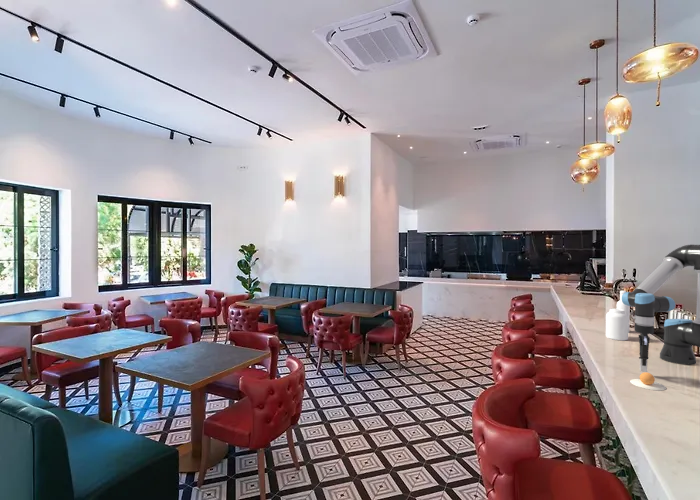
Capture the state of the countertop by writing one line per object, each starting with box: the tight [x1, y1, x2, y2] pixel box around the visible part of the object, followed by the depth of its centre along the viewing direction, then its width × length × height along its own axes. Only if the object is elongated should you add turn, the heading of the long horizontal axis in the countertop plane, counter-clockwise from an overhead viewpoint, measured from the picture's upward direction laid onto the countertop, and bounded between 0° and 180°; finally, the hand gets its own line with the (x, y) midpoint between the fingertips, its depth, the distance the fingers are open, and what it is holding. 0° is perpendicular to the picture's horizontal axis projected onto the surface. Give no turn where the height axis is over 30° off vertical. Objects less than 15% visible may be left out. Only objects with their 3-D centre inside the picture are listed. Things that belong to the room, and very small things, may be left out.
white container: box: [605, 308, 629, 341], centre depth 248 cm, size 12×12×20 cm
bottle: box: [615, 290, 631, 334], centre depth 265 cm, size 8×8×30 cm
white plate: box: [629, 378, 667, 391], centre depth 169 cm, size 13×13×1 cm
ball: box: [639, 371, 656, 385], centre depth 169 cm, size 6×6×6 cm
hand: (643, 371), depth 181 cm, fingers closed
